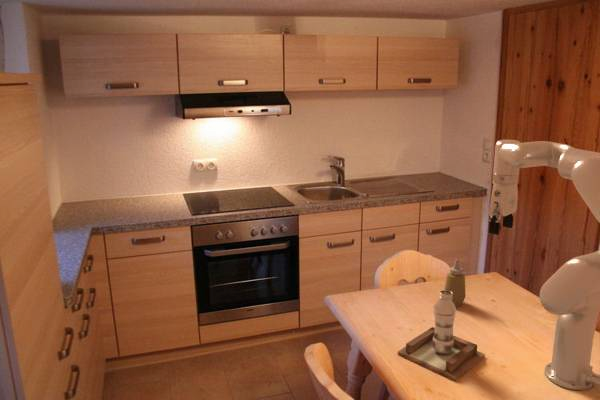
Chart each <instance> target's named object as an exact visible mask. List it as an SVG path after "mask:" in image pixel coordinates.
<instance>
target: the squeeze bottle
mask: <svg viewBox="0 0 600 400" xmlns="http://www.w3.org/2000/svg"><path fill="white" fill-rule="evenodd" d="M445 279H446V280H445V287H444V290H447V291H451V292H452V300H451V301H452V302H453V303H454V305H455V307H456V308H457V307H461V306H462V305H463V304H464V301H465V299H466V296H467V295H466V275H464V271H463V268H462V267H461V265H460V261H459V258H458V259H456V258H455V261H454V263H453V265H452V266H451V267H450V268H449V272H448V273H447V274H446V278H445Z"/></svg>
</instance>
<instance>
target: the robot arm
mask: <svg viewBox="0 0 600 400" xmlns="http://www.w3.org/2000/svg"><path fill="white" fill-rule="evenodd" d="M494 148H495V149H494V157H493V158H494V159H493V170H492V171H493V172H492V184H493V185H492V190H491V196H490V206H489V209H488V210H487V211H488V218H489V219H488V221H489V224H488V233H489V234H491V235H492V234H493V235H496V236H498V235H500V230H501V229H500V227H501V222H500V220H501V218H502V227H504V228H508V229H512V228H513V225H514V216H515V213H516V212H517V210H518V197H519V195H518V194H519V193H518V192H519V190H518V184H519V175H520V169H527V168H533V167H550V168H556V169H557V171H558V175H560V177H562V178H563V179H566V180H571V181H572V183H573V185H574V187H575V190H576V191H577V193H578V194H579V196H580V197H581V199H582V200H583V201H584V203H585V205H586V206H587V207H588V209H589V210H590V212H591V213H592V215H593V216H594V217H595V219H596V220H597V222H598V223H599V224H600V152H597V151H592V150H585V149H579V148H576V147H573V146H571V145H570V144H566V143H560V142H553V141H548V140H545V141H544V140H540V141H538V140H537V141H529V142H527V141H525V142H520V141H519V140H515V139H499V140H498V141H496V143H495V147H494ZM539 301H540V303H541V306H542V307H543V309H545V311H546V312H548V313H550V314H551V315H555V316H557V318H556V325H555V332H554V340H553V347H552V348H553V349H552V355H551V356H552V357H551V362H549V363H548V364H546V365H545V366H544V370H543V371H544V375H545V376H546V378H547V379H548V380H549V381H551V382H552V383H554V384H556V385H558V386H560V387H562V388H564V389H565V388H566V389H569V390H573V391H576V390H577V391H584V390H589V389H591V388H592V387H593V386H594V385H596V386H598V387H600V374H597V373H595V372H594V371H593V368H594V367H593V365H590V364H591V359H592V353H593V352H592V351H593V344H594V340H595V339H594V338H595V331H596V325H597V320H598V316H599V313H600V249H599V250H597V251H593V252H590V253H587V254H583V255H578V256H576V257H575V256H574V257H573V258H570V259H569V260H568V261H566V262H564V264H563V265H561V267H559V268H558V269H557V270H556V271H555V272H554V273H553V274H552V275H551V276H550V277H549V278H548V279H547V280H546V281H545V282H544V283H543V285H542V286H541V288H540V291H539Z"/></svg>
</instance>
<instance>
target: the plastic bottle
mask: <svg viewBox="0 0 600 400" xmlns="http://www.w3.org/2000/svg"><path fill="white" fill-rule="evenodd" d="M451 300H452V292H451V291H447V290H445V289H444V290H443V289H442V290H440V291H439V295H438V300H436V302H435V303H434V306H433V314H434V328H435V330H434V336H433V340H432V347H433V349H434V350H435V351H436V352H437V353H440V354H449V353H451V352H452V351H453V348H454V339H453V335H454V323H455V318H456V313H457V307H455V305H454V303H453V302H452V301H451Z"/></svg>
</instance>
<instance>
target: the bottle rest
mask: <svg viewBox="0 0 600 400" xmlns="http://www.w3.org/2000/svg"><path fill="white" fill-rule="evenodd" d="M434 330H435V327H433V326H432V327H430V328H429V329H427V330H426V331H424V332H422V333H421V334H419V335H417V336H415V337H414V338H413V339H411V340H410V341H408V342H406V344H405V346H404V347H402V348H401V349H399V350H398V351H397V355H398V356H400V357H402V358H405V359H407V360H408V361H411V362H413V363H415V364H418V365H419V366H422V367H424V368H426V369H428V370H431V371H432V372H434V373H437V374H439V375H441V376H443V377H445V378H448V379H449V380H452V381H453V382H456V381H458V380H459V379H460V378H461V377H462V376H463V375H464V374H466V373H467V372H468V371H469V370H470V369H472V368H473V367H475V366H476V365H477V364H478V363H479V362H481V361H482V360H483V359H484V358H486V354H485V353H483V352H481V351H478V344H476V343H474V342H471V341H468V340H466V339H463V338H461V337H459V336H456V335H454V334H453V339H454V348H453V351H452V352H451V353H449V354H440V353H437V352H436V351H435V350H434V349H433V347H432V340H433V336H434Z"/></svg>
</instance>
